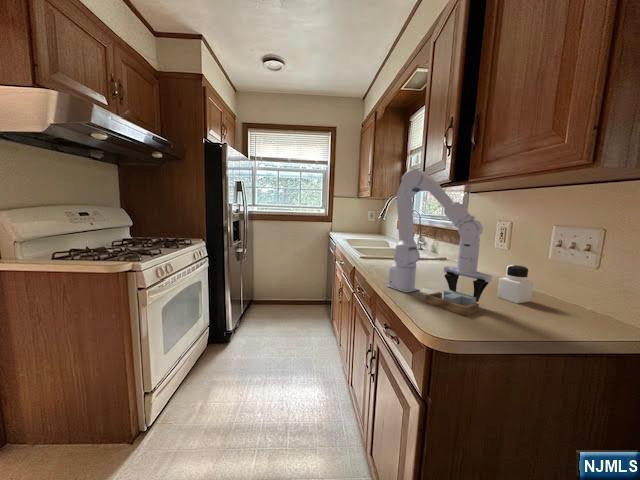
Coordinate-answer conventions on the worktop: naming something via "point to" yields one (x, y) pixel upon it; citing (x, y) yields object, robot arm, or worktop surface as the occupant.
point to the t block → (459, 298)
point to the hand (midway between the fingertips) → (463, 298)
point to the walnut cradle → (451, 305)
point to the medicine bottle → (515, 285)
